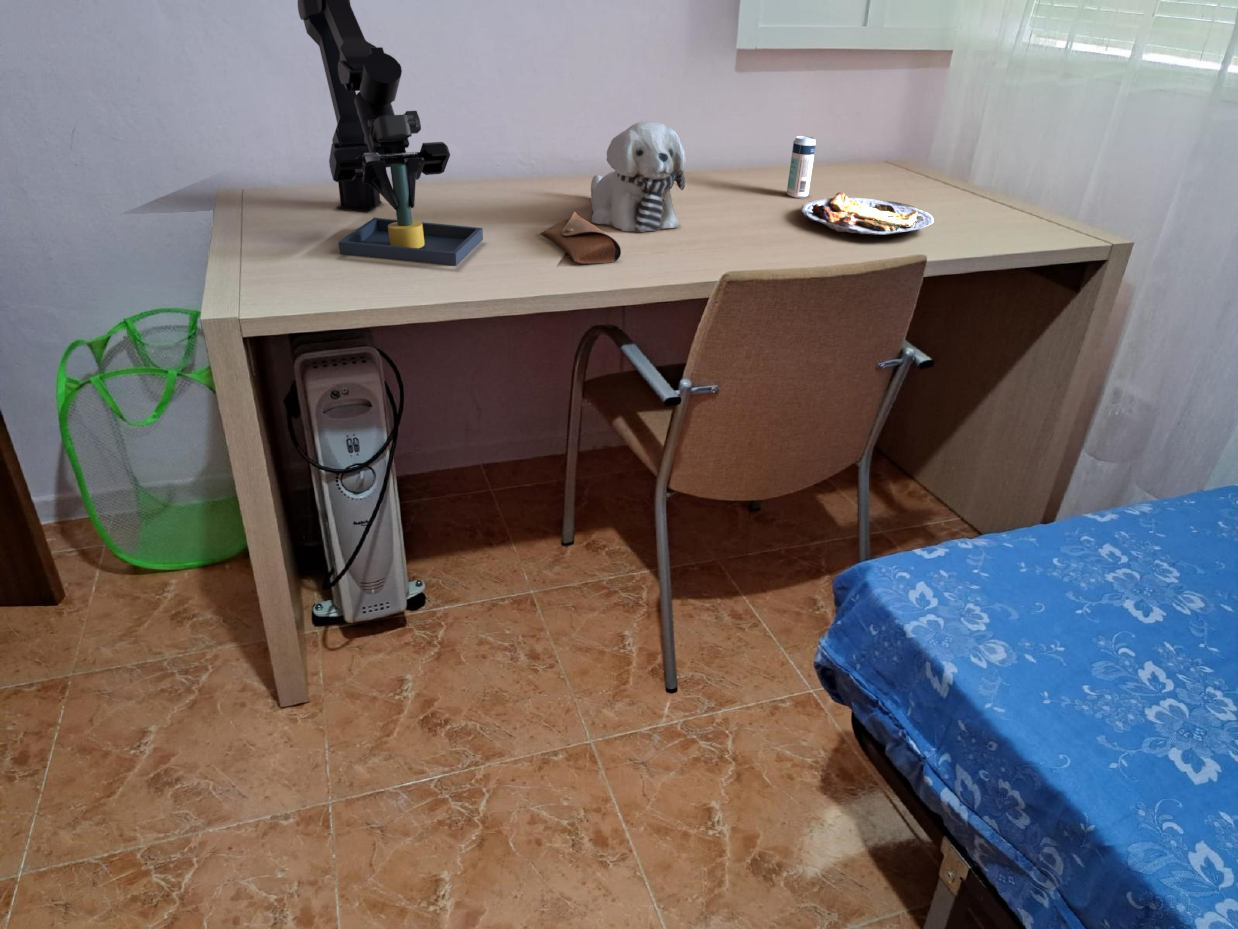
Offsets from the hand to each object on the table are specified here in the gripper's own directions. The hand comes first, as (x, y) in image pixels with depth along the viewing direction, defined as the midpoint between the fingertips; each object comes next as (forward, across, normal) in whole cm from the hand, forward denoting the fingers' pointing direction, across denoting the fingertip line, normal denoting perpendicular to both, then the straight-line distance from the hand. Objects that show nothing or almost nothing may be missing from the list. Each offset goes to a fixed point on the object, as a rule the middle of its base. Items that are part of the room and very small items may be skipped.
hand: (404, 207), depth 147 cm
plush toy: (0, +47, +11) cm, 49 cm away
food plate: (+16, +88, -5) cm, 89 cm away
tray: (+5, +1, +6) cm, 8 cm away
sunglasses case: (+11, +28, 0) cm, 30 cm away
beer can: (0, +89, +11) cm, 89 cm away
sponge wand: (+4, 0, +5) cm, 7 cm away
